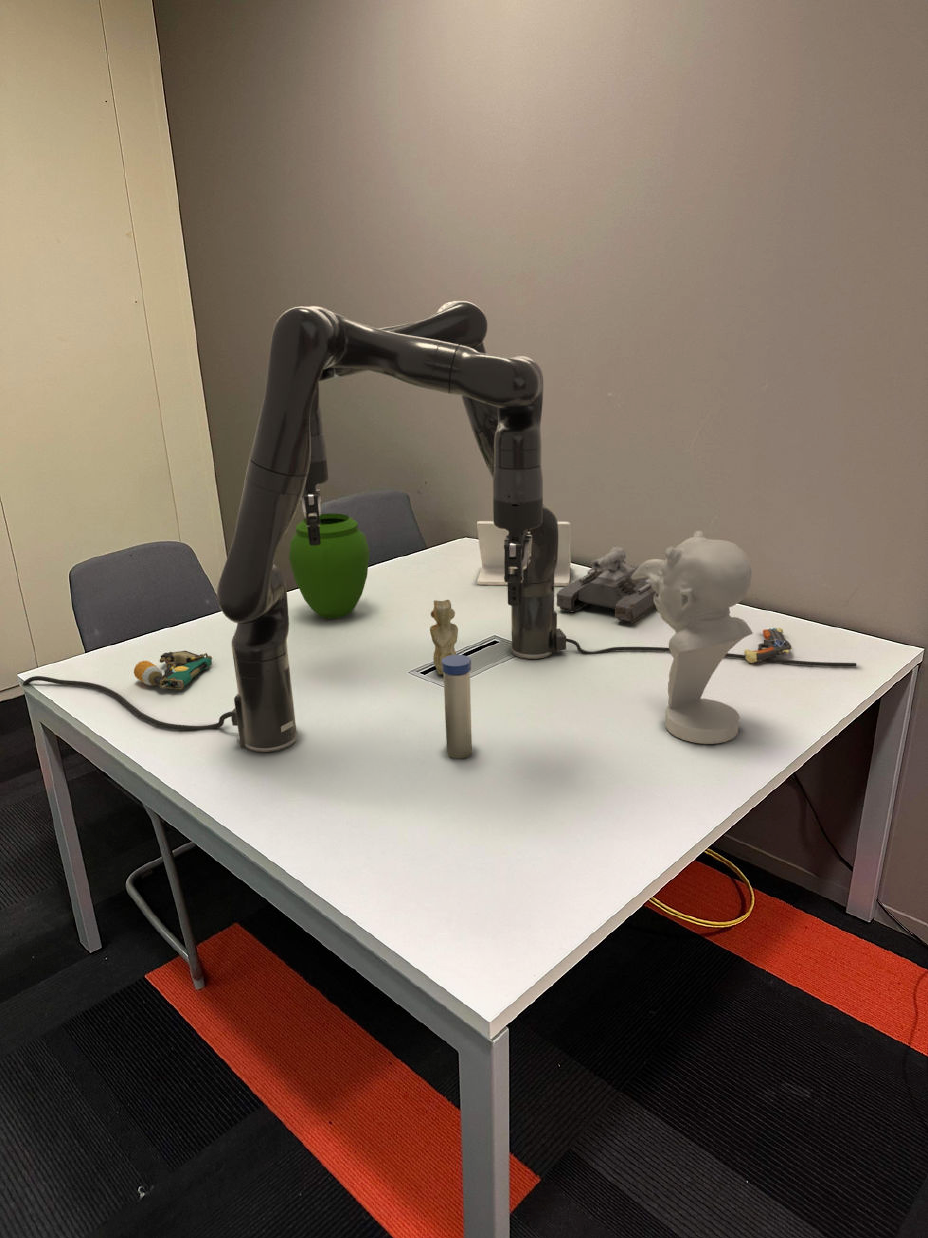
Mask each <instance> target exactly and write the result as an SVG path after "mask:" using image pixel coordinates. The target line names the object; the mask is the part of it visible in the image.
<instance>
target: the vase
mask: <svg viewBox="0 0 928 1238" xmlns="http://www.w3.org/2000/svg"><path fill="white" fill-rule="evenodd" d="M319 519H320V522H321V523H320V526H319V528H320V539H321V544H320V545H313V546H311V545H310V544H309V535H308V527H307V525H306V521H307V520H306V517H304V518H303V519H302V520H301V521H300V522H299V523H298V524H297V525H296V526H295V532H296V533H295V534H294V536H293V537H292V538H291V540H290V542H289V551H288V559H289V564H290V566H291V567H290V568H291V570H292V575H293V578H294V581H295V584H296V586H297V587H298V589H299V591H300V593H301V596H302V597H303V600H304V601H305V603H306V604H307V605H308V607H309V608H310V609H311V611H312V612H314V613H315V614H316V615H317V616H318V617H320V618H324V619H326V620H327V619H329V620H336V619H341V618H345V617H347V616H349V615H350V614H351V613H352V612H353V611H354V610H355V608H356V607H357V605H358V604H359V601H360V599H361V597H362V595H363V592H364V588H365V586H366V581H367V578H368V570H369V561H370V560H369V559H370V548H369V545H368V541H367V537H366V535H365V534H364V533H363V532H362V531H361V530H360V529H359V527H358V524H359V523H358V521H356V520H355V519H353V518H352V517H350V516H349V515H347V514H344V513H335V512H334V513H333V512H331V513H321V515H320V516H319Z"/></svg>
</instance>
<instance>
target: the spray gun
mask: <svg viewBox="0 0 928 1238" xmlns="http://www.w3.org/2000/svg"><path fill="white" fill-rule="evenodd" d="M212 660H213V657H212V656H211V655H208V653H207V652H205V653H201V654H197V653H194V652H192V651H191V652H190V651H188V650H180V651H169V652H164V653H162V654H161V655H160V658H159V660H158V662H159V663H161V664H163V663H165V664H166V668H165V670H163V672H164V674H163V673H162V669H160V668H159V666H157V665H156V664H154V663H152V662H151V661H149V660H141V661H139V662H138V663H136V665H135V666H134V668H133V675H134V677H135V678H136V679H137V680H139V681H140V682H142V683H143V684H145V685H147V686H155V685H157V686H158V687H160V688H161V689H171V690H172V689H173V690H182V689H184V687H185V686H186V685H188V684H189V683H190V682H191V681H192V679H193V678H195V677H196V676H197V675H198V674H200V673H201V672H202V671H203V670H206V669H208V668H209V667H210V666H211V665H212V662H213V661H212ZM178 663H179V664H181V665H179V666H176V665H177V664H178Z"/></svg>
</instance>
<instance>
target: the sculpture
mask: <svg viewBox="0 0 928 1238" xmlns="http://www.w3.org/2000/svg"><path fill="white" fill-rule="evenodd" d="M455 615H456V611H455V609H453V608H452V602H451V601H450V599H445V600H433V610H431V612H430V617H431V618H432V619H433V620H434V621H435V622H436V623H435V624H433V625H431V626H429V633H430V636H431V640H432V641H431V642H432V643H433V645H434V648H435V649H434V652H433V656H432V657H433V659H432V660H433V665H434V667H435V668H436V671H437V674H438V675H444V672H443V671H442V659H443V658H444V657H446V656H450V655H457V652H456V649H455V644H456V643H457V642H458V637H459V635H458V634H459V627H458V626H457V624H455V623H453V622H451V621H452V620H453V619H454V618H455Z"/></svg>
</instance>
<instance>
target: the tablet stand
mask: <svg viewBox="0 0 928 1238" xmlns="http://www.w3.org/2000/svg"><path fill="white" fill-rule="evenodd" d="M557 522H558V558H557V565H556V568H555V571H554V587H556V586H557V587H566V586H567V585H569V584H570V580H571V579H570V578H571V565H572V564H571V560H572V558H571V522H569V521H557ZM476 531H477V537H478V544H479V551H480V557H481V558H480V559H481V570H480V573H479V575H478V577H477V580H476V581H477V582H476V584H478V585H484V586H485V585H486V586H487V585H489V586H490V585H491V586H508V582H505V580H504V576H505V565H504V557H505V549H504V539H506V535H508V534H509V531H508V530H506V529H500V528H498V527H496V526H495V525H494V520H477V522H476Z"/></svg>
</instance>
